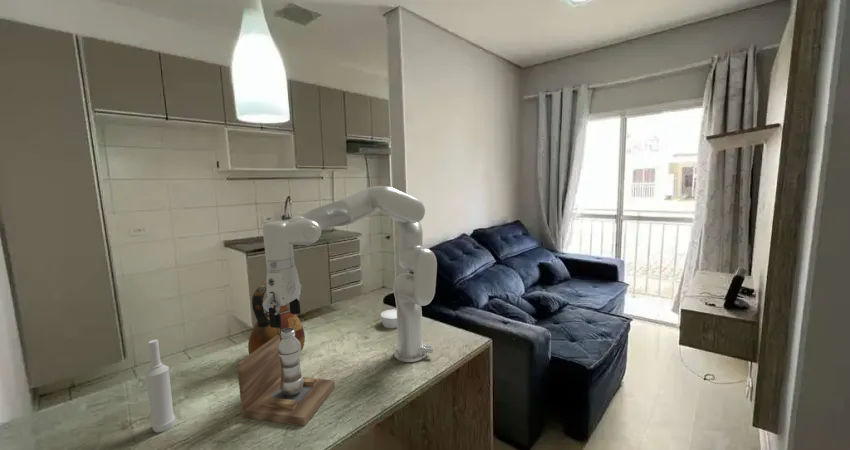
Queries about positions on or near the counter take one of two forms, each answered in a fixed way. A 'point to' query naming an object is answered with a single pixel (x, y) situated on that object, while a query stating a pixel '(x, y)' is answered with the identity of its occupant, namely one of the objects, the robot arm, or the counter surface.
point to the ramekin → (389, 318)
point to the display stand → (276, 389)
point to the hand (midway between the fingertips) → (286, 320)
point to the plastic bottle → (290, 363)
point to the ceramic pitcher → (262, 326)
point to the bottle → (159, 391)
